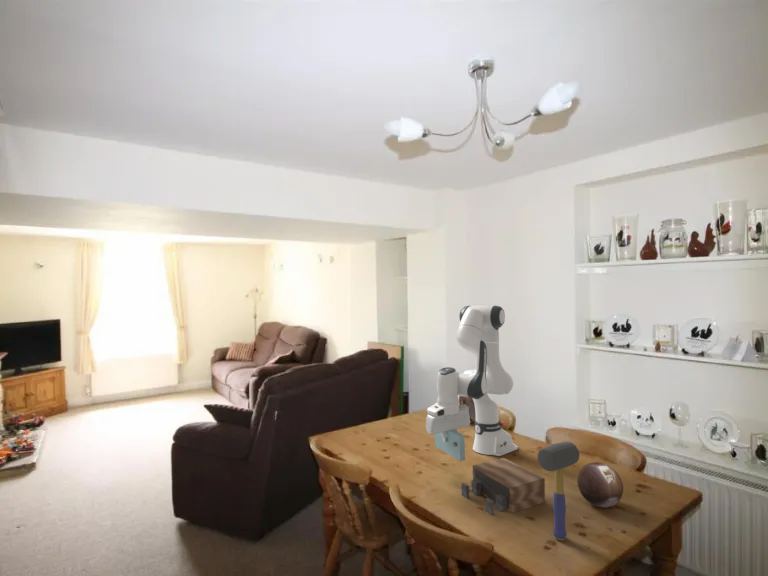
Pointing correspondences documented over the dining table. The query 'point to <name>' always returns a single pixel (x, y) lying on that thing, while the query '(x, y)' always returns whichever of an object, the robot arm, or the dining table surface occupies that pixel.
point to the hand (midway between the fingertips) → (448, 440)
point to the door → (452, 444)
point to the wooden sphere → (600, 484)
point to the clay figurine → (470, 404)
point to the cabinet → (506, 486)
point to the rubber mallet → (558, 479)
